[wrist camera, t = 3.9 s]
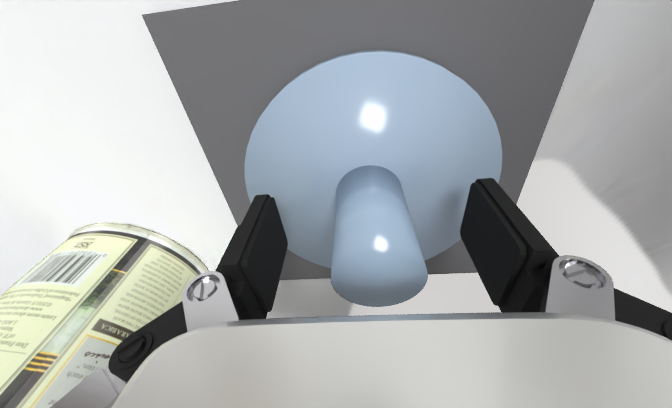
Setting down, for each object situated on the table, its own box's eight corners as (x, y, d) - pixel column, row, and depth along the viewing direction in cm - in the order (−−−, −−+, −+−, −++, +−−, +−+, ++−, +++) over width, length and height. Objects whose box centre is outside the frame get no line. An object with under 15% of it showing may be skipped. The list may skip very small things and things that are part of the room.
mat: (605, -53, 8) (615, -56, 8) (487, 267, 18) (490, 271, 18) (148, 14, 10) (141, 14, 10) (264, 276, 20) (262, 280, 19)
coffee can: (158, 319, 24) (-5, 590, 13) (39, 251, 19) (-411, 611, 8) (243, 290, 21) (121, 620, 10) (128, 198, 16) (-433, 692, 4)
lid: (524, 27, 10) (716, 51, 5) (466, 252, 17) (516, 356, 12) (213, 70, 11) (98, 125, 6) (283, 262, 18) (259, 360, 13)
